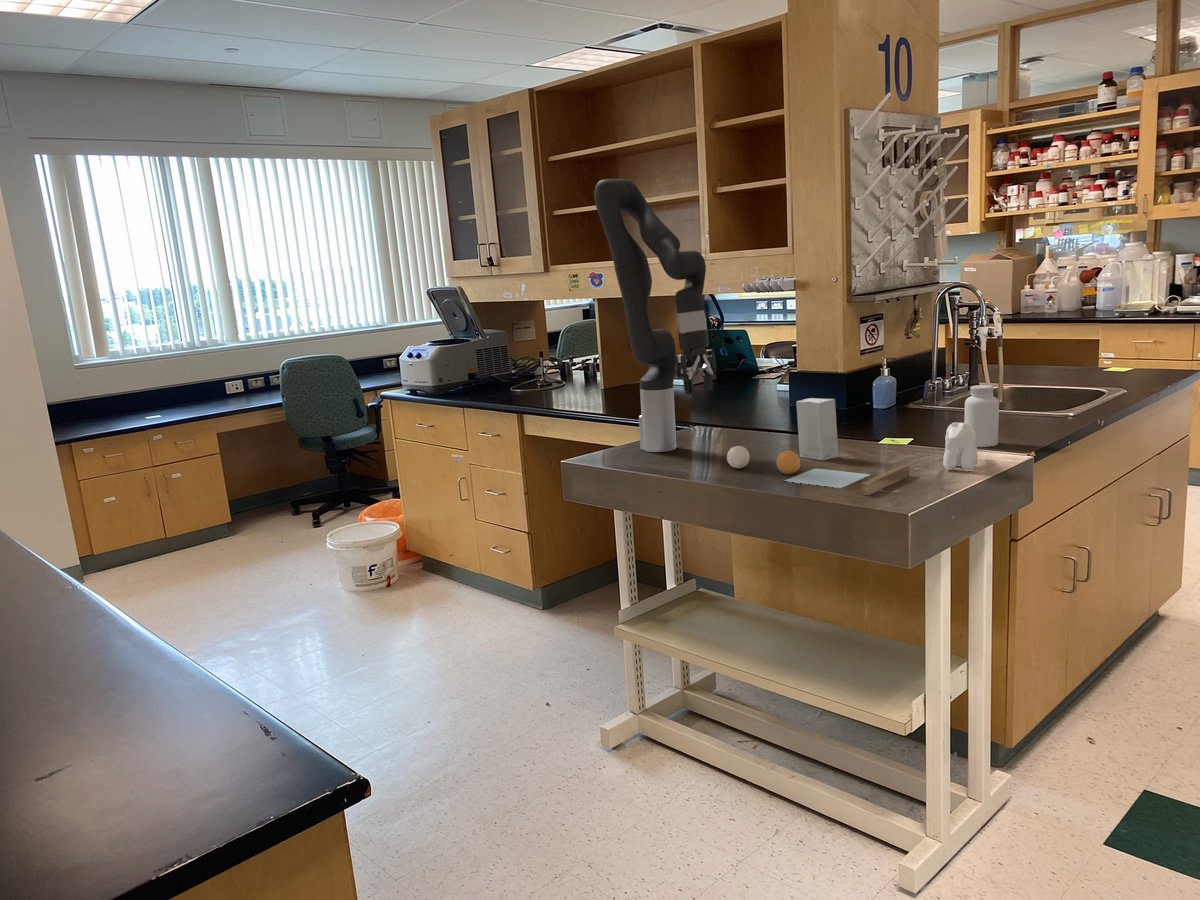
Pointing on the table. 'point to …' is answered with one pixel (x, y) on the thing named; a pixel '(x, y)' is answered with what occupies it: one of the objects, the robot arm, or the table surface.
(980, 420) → the pill bottle
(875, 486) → the stopper bar
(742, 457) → the cue ball
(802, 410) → the skincare box
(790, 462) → the object ball
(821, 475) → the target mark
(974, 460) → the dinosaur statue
